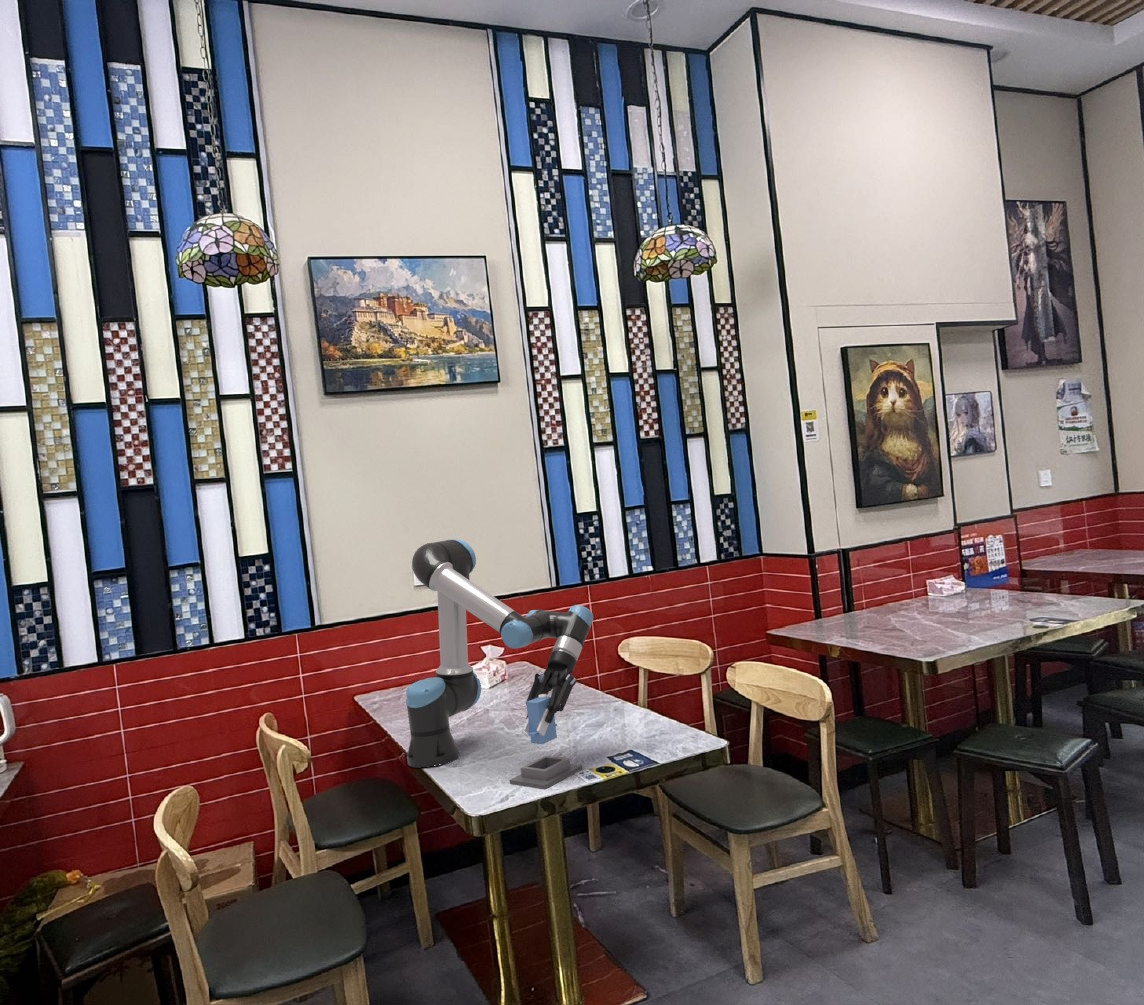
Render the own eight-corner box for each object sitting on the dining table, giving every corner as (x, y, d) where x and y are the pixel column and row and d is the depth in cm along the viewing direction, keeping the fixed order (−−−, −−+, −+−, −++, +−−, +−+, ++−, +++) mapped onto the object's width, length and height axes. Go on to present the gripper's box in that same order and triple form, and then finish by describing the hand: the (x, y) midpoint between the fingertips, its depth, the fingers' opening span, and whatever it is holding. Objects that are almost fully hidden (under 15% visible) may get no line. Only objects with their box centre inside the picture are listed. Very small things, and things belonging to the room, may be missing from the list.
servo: (538, 746, 216) (533, 701, 216) (526, 745, 219) (521, 700, 219) (561, 735, 224) (555, 692, 224) (549, 734, 226) (544, 691, 226)
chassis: (545, 789, 211) (543, 775, 211) (510, 783, 219) (508, 770, 219) (582, 768, 224) (580, 755, 224) (548, 764, 231) (546, 751, 231)
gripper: (595, 664, 228) (566, 742, 215) (547, 663, 239) (516, 737, 225) (582, 649, 224) (551, 727, 211) (533, 648, 234) (501, 723, 221)
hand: (533, 732), depth 218 cm, fingers closed on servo, 4 cm apart
